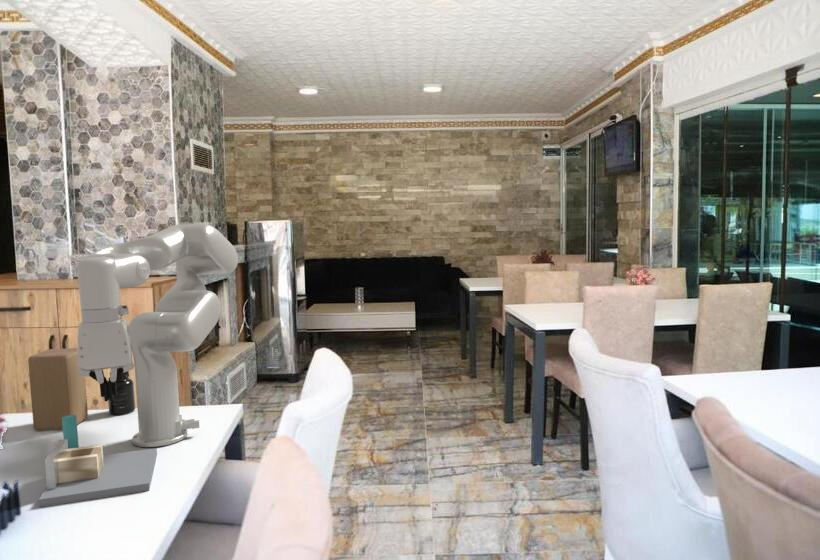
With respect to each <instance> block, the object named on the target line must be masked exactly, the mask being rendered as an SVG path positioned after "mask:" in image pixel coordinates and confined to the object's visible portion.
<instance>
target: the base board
mask: <svg viewBox="0 0 820 560" xmlns="http://www.w3.org/2000/svg"><path fill="white" fill-rule="evenodd" d="M157 449H158V448H157V447H156V448H155V447H153V448H149V449H148V448H147V449H141V450H133V451H132V450H131V451H125V452H118V453H108V454H103V461H104V465H103V468H102V470H101V472H100V475H99V477H98V478H93V479H86V480H79V481H72V482H65V483H59V485H58V486H57V488H56V489H52V490H47V486H46V487H45V489H44V490H43V492H42V493H41V496H40V497H39V498H38V507H39V508H43V507H44V508H45V507H50V506H56V505H61V504H69V503H76V502H82V501H87V500H96V499H103V498H109V497H115V496H121V495H129V494H135V493H141V492H142V493H143V492H147V491H148V492H149V491H150V488H151V485H152V479H153V476H154V470H155V466H156V461H157V456H158V450H157Z"/></svg>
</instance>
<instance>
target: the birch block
mask: <svg viewBox="0 0 820 560" xmlns="http://www.w3.org/2000/svg"><path fill="white" fill-rule="evenodd" d="M103 455H104V450H103V444H96V445H88V446H81V447H79V448H71V449H65V450H64V452H63V453H62V455H61V457H60V458H59V460H58V461H57V464H58V477H59V483H65V482H72V481H79V480H86V479H93V478H98V477H99V475H100V472H101V470H102V468H103V465H104V461H103Z"/></svg>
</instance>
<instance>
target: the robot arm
mask: <svg viewBox="0 0 820 560" xmlns="http://www.w3.org/2000/svg"><path fill="white" fill-rule="evenodd" d="M174 263H175V269H176V271H175V272H176V273H175V274H176V282H175V283H174V285H172V287H171V288H170V289H168V290H167V292H165V294H164V295H163V296H162V297H161V298H160V300H159V301H158V302H157V303H156V306H155V308H154V309H155V310H154V311H147V312H142V313H139V314H137V315H136V316H134V317H133V318H132V319H131V320H130V321H129V324H128V322H127V319H126V318H122V317H124V316H125V315H129V311H130V310H129V308H128V307H123V306H122V305H121V296H120V295H121V294H120V289H121V288H136V287H139V286H142V285H143V284H145V283H146V282H147V281H148V279H149V277H150V274H151V272H152V271H158V270H162V269H165V268H167V267H169V266H170V265H172V264H174ZM238 264H239V256H238V253H237V250H236V248H235V247H234V245H233V244H232V243H231V242H230V241H229V240H228V239H227V238H226V237H225V236H224V235H223V234H222V233H221V232H220V231H219V230H218V229H217V228H215V227H214V226H212V225H210V224H209V223H188V224H187V223H185V224H180V223H179V224H175V225H171V226H169V227H166V228H165V229H162V230H160V231H157V232H156V233H153V234H151V235H149V236H146V237H142V238H141V237H140V238H137V239H133V240H130V241H126V242H120V243H117V244H113V245H109V246H106V247H103V248H100V249H98V250H97V251H94V252H92V253H90V254H88V255H87V256H86V257H85V258H82V259H80V260H78V261H77V264H76V273H77V282H78V292H79V302H80V314H81V322H79V323H78V326H77V327H78V328H77V339H76V340H77V344H76V345H77V349H78V364H79V371H78V375H79V376H85V377H89V378H92V379H93V380H94V381H96V382H97V384H99V390H100V392H99V393H100V398H104V399H103V400H104V402H108V400H110V401H112V400H113V398H114V395H117V390H116V380H117V378H118V377H119V376H120V375H121V374H122V373H124V372H127V371H129V372H130V371H132V370H134V376H135V378H134V379H135V391H136V405H137V406H136V407H137V408H136V409H137V420H138V421H137V423H138V432H137V433H135V434H134V435H133V436H132V438H131V440H132V444H133V445H134V446H137V447H141V448H155V447H156V448H157V447H164V446H168V445H172V444H175V443H178V442H180V441H182V440H184V439H185V438H186V437H187V436H188V429H189V430H190V429H192V430H194V429H200V420H195V418H191V419H185V418H184V419H183V417H182V414H181V413H180V397H179V379H178V366H177V363H176V360H175V359H174V357H173V356H172V354H171V352H179V353H181V352H184V353H185V352H192V351H195V350H196V349H197V348H199V346H201V344H202V343H203V342H204V341H205V340H206V338H207V336H208V335H209V334H210V333H211V331H212V330H213V329H214V328H215V326H216V325H217V323H218V321H219V319H220V314H221V309H222V308H221V301H220V299H219V296H218V295H217V294H216V293H215V292H213V291H211V290H208V289H207V287H206V286H205V284H204V282H203V279H201V278H200V277H199V276H200V275H201V276H202V275H205V276H206V275H229V274H231V273H233V272H235V270H236V269H237V267H238ZM106 369H110V372H111V374H110V373H109V378H108V380H107V377H106V376H105V373H104V370H106Z"/></svg>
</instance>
